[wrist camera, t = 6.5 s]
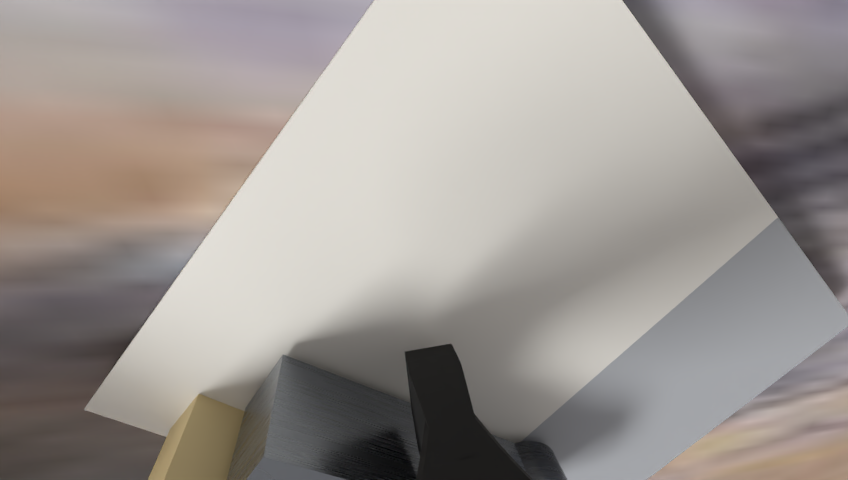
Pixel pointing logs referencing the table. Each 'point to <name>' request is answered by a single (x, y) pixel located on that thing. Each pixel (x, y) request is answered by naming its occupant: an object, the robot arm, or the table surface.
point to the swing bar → (341, 432)
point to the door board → (489, 247)
